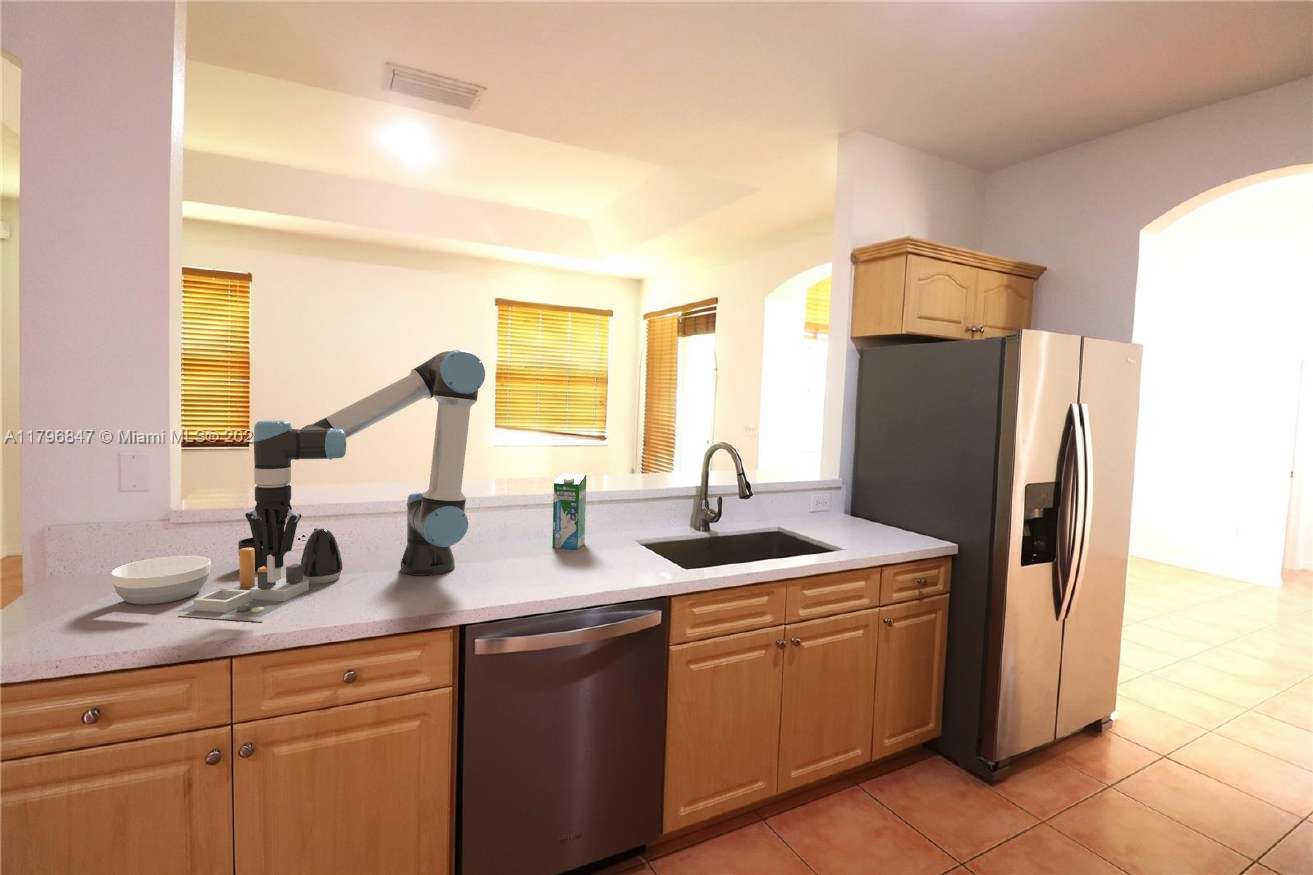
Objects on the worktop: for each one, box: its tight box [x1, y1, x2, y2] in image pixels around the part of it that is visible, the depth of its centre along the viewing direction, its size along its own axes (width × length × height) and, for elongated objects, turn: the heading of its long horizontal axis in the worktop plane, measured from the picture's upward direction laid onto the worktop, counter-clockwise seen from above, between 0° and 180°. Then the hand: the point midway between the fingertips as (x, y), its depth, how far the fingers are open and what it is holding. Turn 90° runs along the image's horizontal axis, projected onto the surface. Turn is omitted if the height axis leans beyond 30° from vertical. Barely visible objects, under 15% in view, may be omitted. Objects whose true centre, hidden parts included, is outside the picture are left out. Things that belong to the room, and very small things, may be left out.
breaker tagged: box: [256, 566, 276, 589], centre depth 150 cm, size 2×3×5 cm
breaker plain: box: [285, 563, 303, 583], centre depth 155 cm, size 2×3×4 cm
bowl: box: [110, 555, 212, 606], centre depth 150 cm, size 19×19×9 cm
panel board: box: [177, 577, 316, 624], centre depth 150 cm, size 20×20×4 cm
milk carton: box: [552, 472, 587, 550], centre depth 216 cm, size 9×9×25 cm
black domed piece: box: [300, 527, 344, 584], centre depth 166 cm, size 10×10×15 cm
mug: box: [237, 537, 286, 572], centre depth 174 cm, size 8×12×10 cm
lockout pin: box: [238, 548, 256, 590], centre depth 157 cm, size 3×3×10 cm
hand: (274, 580), depth 150 cm, fingers closed
